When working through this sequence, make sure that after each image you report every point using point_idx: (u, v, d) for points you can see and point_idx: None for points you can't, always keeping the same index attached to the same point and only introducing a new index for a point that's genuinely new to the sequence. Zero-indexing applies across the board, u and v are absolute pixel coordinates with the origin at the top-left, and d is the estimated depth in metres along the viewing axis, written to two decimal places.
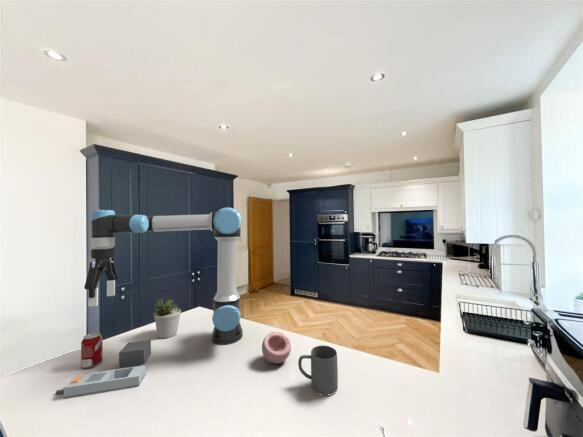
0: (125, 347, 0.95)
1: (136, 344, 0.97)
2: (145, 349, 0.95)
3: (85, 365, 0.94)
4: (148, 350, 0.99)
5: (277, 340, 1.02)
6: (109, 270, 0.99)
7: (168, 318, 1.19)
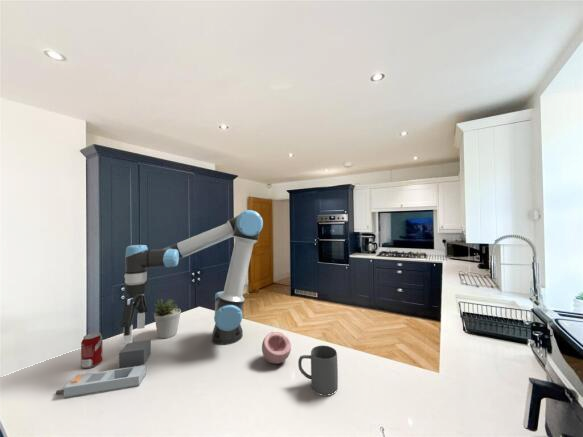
0: (125, 347, 0.95)
1: (136, 344, 0.97)
2: (145, 349, 0.95)
3: (85, 365, 0.94)
4: (148, 350, 0.99)
5: (277, 340, 1.02)
6: (140, 304, 1.00)
7: (168, 318, 1.19)
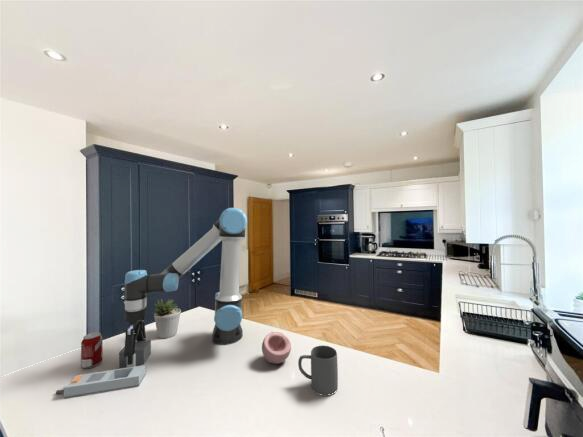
0: None
1: (136, 344, 0.97)
2: (145, 349, 0.95)
3: (85, 365, 0.94)
4: (148, 350, 0.99)
5: (277, 340, 1.02)
6: (140, 331, 0.99)
7: (168, 318, 1.19)
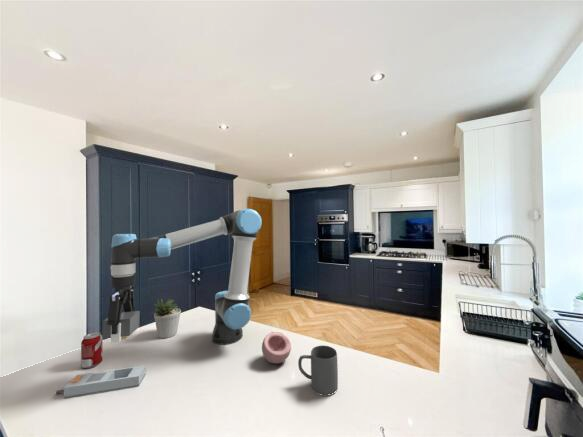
0: None
1: (123, 314, 0.89)
2: (132, 319, 0.86)
3: (85, 365, 0.94)
4: (136, 321, 0.90)
5: (277, 340, 1.02)
6: (128, 300, 0.91)
7: (168, 318, 1.19)
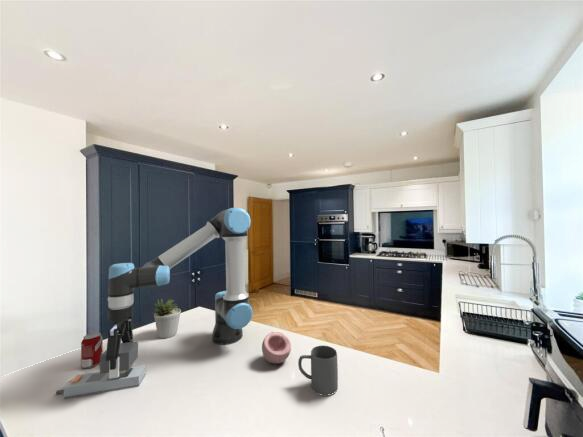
0: None
1: (121, 346, 0.86)
2: (131, 352, 0.84)
3: (85, 365, 0.94)
4: (134, 353, 0.88)
5: (277, 340, 1.02)
6: (126, 331, 0.88)
7: (168, 318, 1.19)
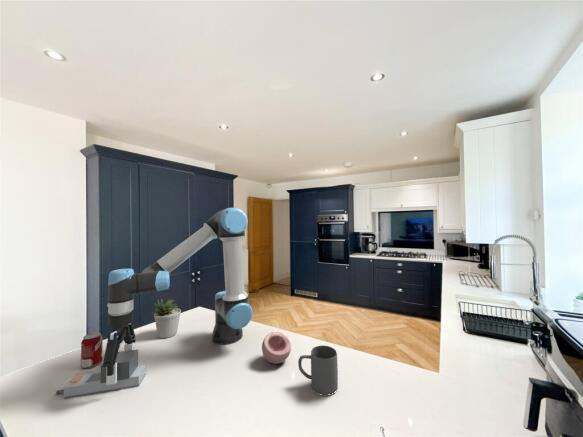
0: None
1: (122, 355, 0.86)
2: (131, 361, 0.84)
3: (85, 365, 0.94)
4: (135, 361, 0.88)
5: (277, 340, 1.02)
6: (127, 335, 0.89)
7: (168, 318, 1.19)
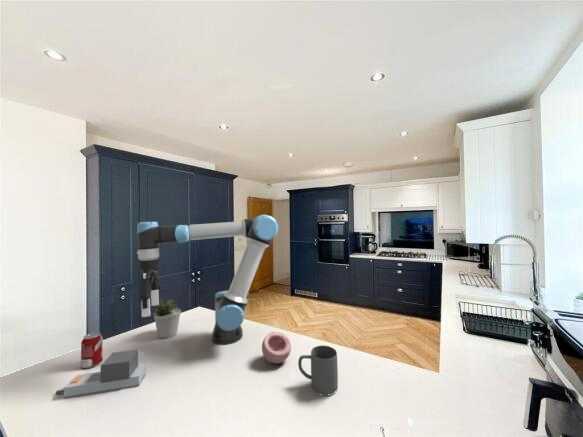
0: (108, 358, 0.84)
1: (122, 355, 0.86)
2: (131, 361, 0.84)
3: (85, 365, 0.94)
4: (135, 361, 0.88)
5: (277, 340, 1.02)
6: (154, 280, 1.01)
7: (168, 318, 1.19)
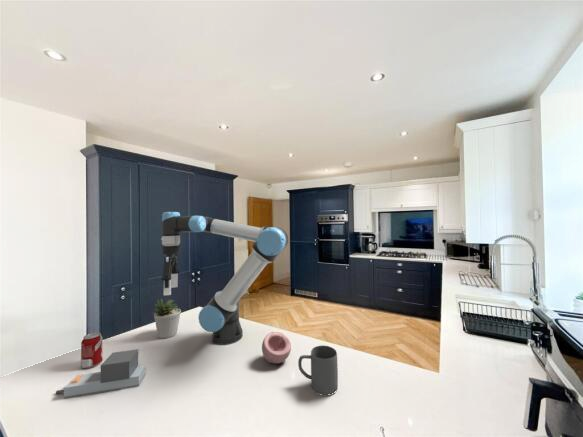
0: (108, 358, 0.84)
1: (122, 355, 0.86)
2: (131, 361, 0.84)
3: (85, 365, 0.94)
4: (135, 361, 0.88)
5: (277, 340, 1.02)
6: (174, 264, 1.13)
7: (168, 318, 1.19)
